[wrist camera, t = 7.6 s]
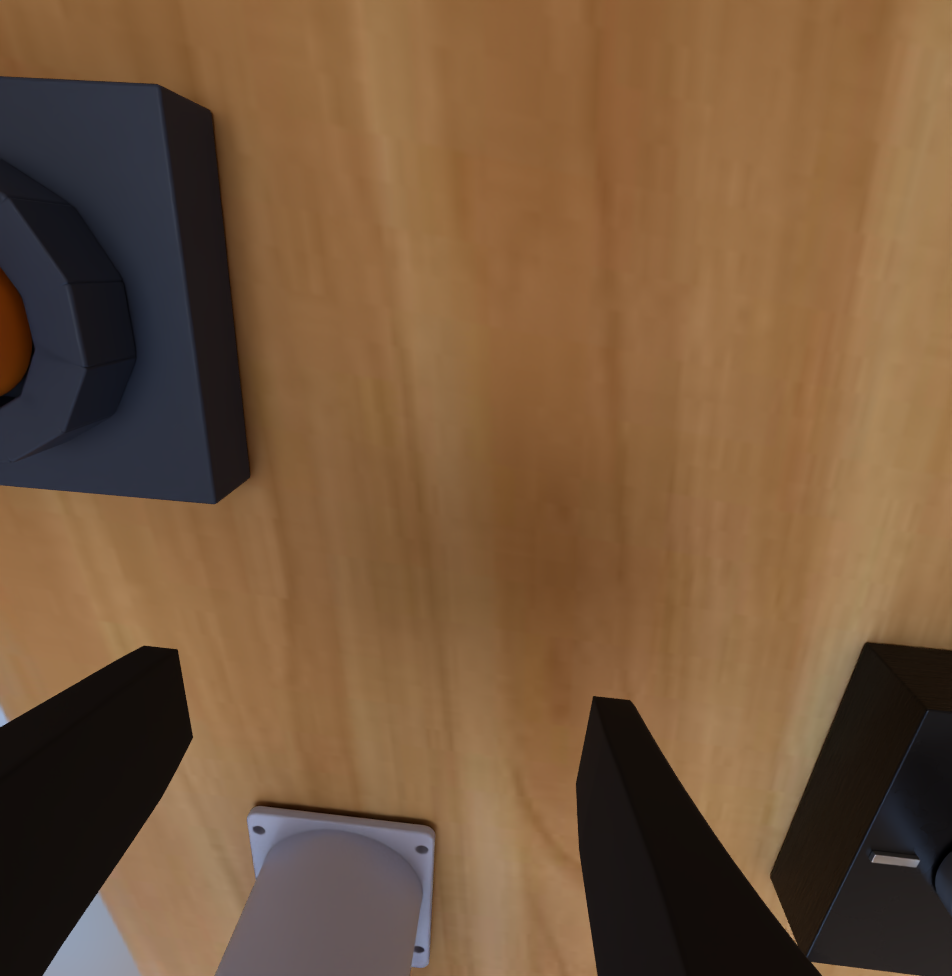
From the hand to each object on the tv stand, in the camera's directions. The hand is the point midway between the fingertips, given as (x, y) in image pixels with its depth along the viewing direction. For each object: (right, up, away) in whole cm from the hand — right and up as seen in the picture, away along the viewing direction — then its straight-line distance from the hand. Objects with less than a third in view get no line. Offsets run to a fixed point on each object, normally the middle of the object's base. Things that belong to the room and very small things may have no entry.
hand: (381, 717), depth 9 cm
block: (-10, +9, +6) cm, 15 cm away
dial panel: (+19, -7, +11) cm, 23 cm away
